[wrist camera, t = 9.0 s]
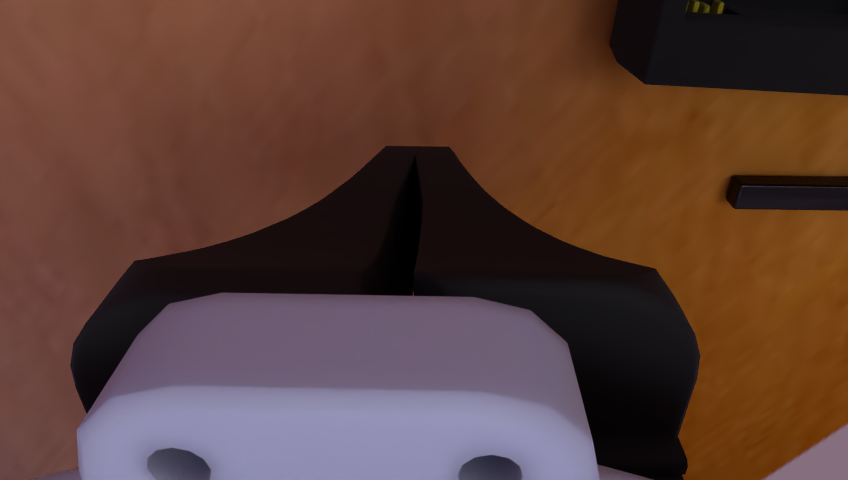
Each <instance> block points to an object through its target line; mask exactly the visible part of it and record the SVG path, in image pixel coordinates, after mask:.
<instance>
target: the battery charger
mask: <svg viewBox="0 0 848 480" xmlns="http://www.w3.org/2000/svg"><path fill="white" fill-rule="evenodd" d="M610 47H611V49H612V52H613V54H614V56H615V59H616V61H617V62H618V63H619V64H620V65H621V66H623V67H624V68H625V69H627V70H628V71H629V72H630V73H632V74H633V75H634V76H635V77H637V78H638V79H639V80H640V81H642V82H643V83H644V84H651V85H669V86H687V87H705V88H723V89H741V90H759V91H777V92H795V93H813V94H831V95H848V0H619V2H618V6H617V11H616V16H615V21H614V26H613V31H612V35H611V40H610Z"/></svg>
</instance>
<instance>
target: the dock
mask: <svg viewBox="0 0 848 480" xmlns="http://www.w3.org/2000/svg"><path fill="white" fill-rule="evenodd" d="M726 199H727V201H728V202H729V203H730V205H731V206H732V207H733V208H735V209H780V210H848V177H782V176H733V177H732V180H731V184H730V187H729V190H728V194H727V197H726Z"/></svg>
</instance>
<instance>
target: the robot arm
mask: <svg viewBox="0 0 848 480" xmlns="http://www.w3.org/2000/svg"><path fill="white" fill-rule="evenodd" d="M413 290H414V296H413ZM699 360H700V354H699V350H698V345H697V341H696V337H695V333H694V332H693V330H692V328H691V326H690V324H689V322H688V320H687V318H686V316H685V314H684V312H683V311H682V309H681V307H680V305H679V304H678V302H677V300H676V299H675V297H674V295H673V294H672V292H671V291H670V289H669V288H668V286H667V285H666V283H665V282H664V281H663V279H662V278H661V276H660V275H659V273H658V272H657V270H656V269H654V268H649V267H645V266H641V265H637V264H633V263H629V262H625V261H621V260H617V259H613V258H608V257H605V256H602V255H599V254H596V253H593V252H590V251H587V250H584V249H581V248H579V247H576V246H573V245H571V244H568V243H566V242H564V241H561V240H559V239H557V238H555V237H553V236H551V235H549V234H547V233H545V232H543V231H541V230H539V229H537V228H535V227H533V226H531V225H530V224H528V223H526V222H525V221H523V220H522V219H520V218H519V217H517V216H516V215H514V214H513V213H511V212H510V211H508V210H507V209H506V208H504V207H503V206H502V205H500V204H499V203H498V202H497V201H496V200H495V199H493V198H492V197H491V196H490V195H489V194H488V193H487V192H486V191H484V190H483V188H482V187H481V186H480V185H479V184H478V183H477V182H476V181H475V180H474V178H473V177H472V176H471V175H470V174H469V173H468V171H467V170H466V169H465V167H464V166H463V165H462V164H461V162H460V161H459V159H458V158H457V156H456V155H455V153H454V152H453V151H452V150H451V149H450V148H449V147H421V146H386V147H385V148H383V149H382V150H381V151H380V152H379V153H378V154H377V155H376V156H375V157H374V158H373V159H372V160H370V161H369V162H368V163H367V164H366V165H365V166H364V167H363V168H362V169H361V170H360V171H358V172H357V173H356V174H355V175H354V176H353V177H352V178H350V179H349V180H348V181H346V182H345V183H344V184H342V185H341V186H340V187H338V188H337V189H336V190H334V191H333V192H332V193H330V194H329V195H328V196H326V197H325V198H323V199H322V200H320V201H319V202H317V203H315V204H314V205H312V206H310V207H308V208H307V209H305V210H303V211H301V212H299V213H297V214H296V215H294V216H292V217H290V218H288V219H285V220H283V221H281V222H278V223H276V224H273V225H271V226H269V227H266V228H264V229H261V230H259V231H257V232H254V233H252V234H249V235H246V236H243V237H240V238H237V239H233V240H230V241H227V242H223V243H220V244H216V245H213V246H209V247H205V248H201V249H197V250H192V251H187V252H182V253H177V254H171V255H166V256H161V257H155V258H150V259H144V260H137V261H134V262H133V263H132V265H131V266H130V267H129V268H128V269H127V271H126V272H125V273H124V274H123V276H122V277H121V278H120V279H119V281H118V282H117V283H116V285H115V286H114V287H113V288H112V290H111V291H110V292H109V294H108V295H107V296H106V298H105V299H104V300H103V302H102V303H101V304H100V305H99V307H98V308H97V309H96V311H95V312H94V313H93V315H92V316H91V317H90V319H89V320H88V321H87V323H86V324H85V325H84V327H83V329H82V330H81V332H80V334H79V335H78V337H77V339H76V340H75V342H74V344H73V351H72V358H71V370H72V374H73V378H74V382H75V386H76V389H77V392H78V394H79V397H80V399H81V401H82V404H83V406H84V408H85V411H86V413H87V415H86V417H85V418H84V420H83V421H82V423H81V424H80V426H79V427H78V429H77V446H78V465H79V468H75V469H71V470H67V471H63V472H59V473H55V474H51V475H47V476H43V477H38V478H34V479H30V480H684V479H683V477H682V474H685V473H686V470H687V467H688V466H687V458H686V455H685V453H684V450H683V448H682V445H681V443H680V441H679V438H678V434H679V431H680V428H681V425H682V422H683V419H684V416H685V413H686V410H687V407H688V404H689V401H690V398H691V395H692V392H693V389H694V386H695V383H696V380H697V374H698V367H699Z"/></svg>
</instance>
